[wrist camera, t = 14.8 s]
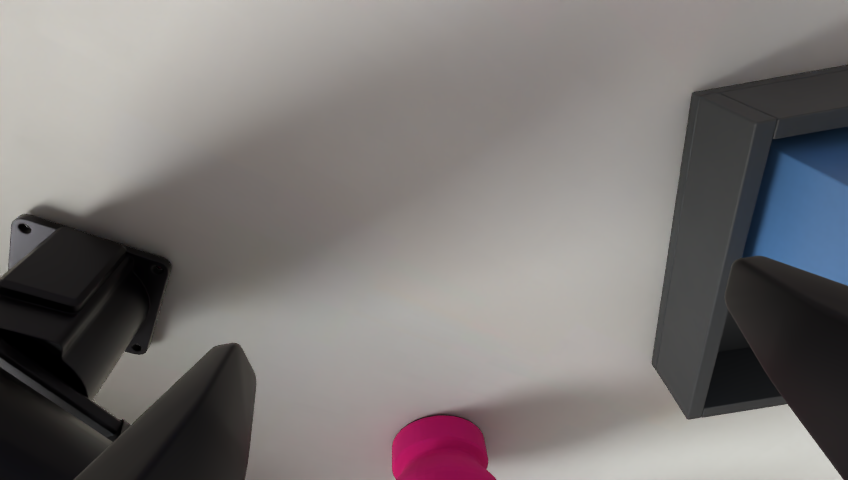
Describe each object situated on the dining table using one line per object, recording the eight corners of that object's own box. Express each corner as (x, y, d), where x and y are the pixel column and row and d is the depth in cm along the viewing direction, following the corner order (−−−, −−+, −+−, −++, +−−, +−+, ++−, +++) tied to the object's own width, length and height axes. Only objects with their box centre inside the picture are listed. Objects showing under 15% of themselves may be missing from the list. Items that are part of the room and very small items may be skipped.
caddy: (651, 363, 29) (687, 420, 25) (691, 92, 20) (755, 122, 16) (794, 340, 29) (850, 394, 25) (900, 54, 20) (1010, 77, 16)
